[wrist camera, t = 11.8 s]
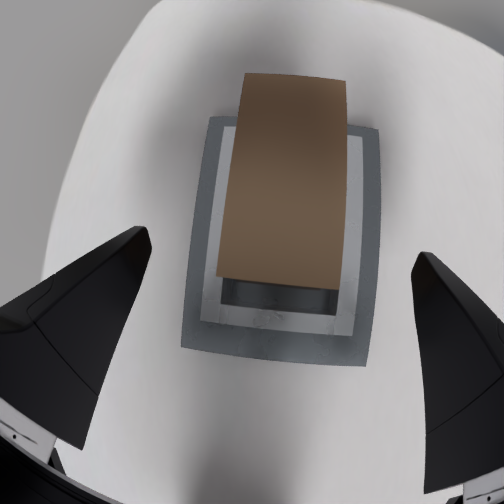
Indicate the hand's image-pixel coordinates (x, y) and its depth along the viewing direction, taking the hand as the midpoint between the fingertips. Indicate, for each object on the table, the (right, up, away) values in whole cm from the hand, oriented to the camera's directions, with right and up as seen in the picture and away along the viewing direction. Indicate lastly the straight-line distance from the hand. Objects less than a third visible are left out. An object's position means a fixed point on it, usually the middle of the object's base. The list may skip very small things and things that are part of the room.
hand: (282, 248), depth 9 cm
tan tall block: (+1, +1, +9) cm, 9 cm away
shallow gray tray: (+1, +1, +10) cm, 10 cm away
